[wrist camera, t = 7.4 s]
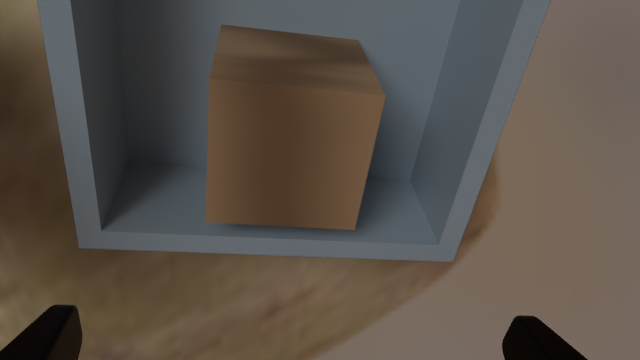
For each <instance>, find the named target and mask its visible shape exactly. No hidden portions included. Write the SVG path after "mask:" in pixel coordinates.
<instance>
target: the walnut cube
mask: <svg viewBox="0 0 640 360" xmlns="http://www.w3.org/2000/svg"><path fill="white" fill-rule="evenodd" d="M385 97H386V95H385V93H384V91H383V89H382V87H381V85H380V83H379V81H378V79H377V77H376V75H375V73H374V71H373V69H372V67H371V65H370V63H369V61H368V59H367V57H366V55H365V53H364V50H363V48H362V46H361V44H360V42H359V40H353V39H344V38H335V37H327V36H318V35H309V34H301V33H292V32H283V31H274V30H266V29H257V28H248V27H239V26H231V25H221V30H220V34H219V38H218V42H217V47H216V51H215V55H214V59H213V64H212V68H211V72H210V77H209V102H208V144H207V185H206V222H210V223H229V224H248V225H267V226H286V227H305V228H324V229H343V230H355V226H356V222H357V218H358V213H359V209H360V205H361V200H362V196H363V192H364V188H365V183H366V179H367V175H368V170H369V166H370V162H371V157H372V153H373V149H374V145H375V140H376V136H377V132H378V127H379V123H380V119H381V114H382V110H383V106H384V101H385Z"/></svg>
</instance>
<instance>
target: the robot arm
mask: <svg viewBox="0 0 640 360" xmlns="http://www.w3.org/2000/svg"><path fill="white" fill-rule="evenodd" d="M81 344H82V329H81V324H80V319H79V313H78V309H77V307H76V306H74V305H53V306H51V307H50V308H48V309H47V310H46V311H45V312H44V313H43V314H42V315H40V316H39V317H38V318H37V319H36V320H35V321H34V322H33V323H31V324H30V325H29V326H28V327H27V328H26V329H25V330H24V331H23V332H21V333H20V334H19V335H18V336H17V337H16V338H15V339H14V340H12V341H11V342H10V343H9V344H8V345H7V346H6V347H5V348H3V349H2V350H1V351H0V360H78V357H79V353H80V349H81ZM502 349H503V354H504V358H505V360H587V359H586V358H585V357H584V356H583V355H581V354H580V353H579V352H578V351H577V350H575V349H574V348H573V347H572V346H571V345H569V344H568V343H567V342H566V341H564V340H563V339H562V338H561V337H560V336H558V335H557V334H556V333H555V332H554V331H553V330H551V329H550V328H549V327H548V326H546V325H545V324H544V323H543V322H542V321H541V320H539V319H538V318H537V317H534V316H516V317H515V318H514V319H513V321H512V323H511V325H510V327H509V329H508V331H507V333H506V335H505V337H504V339H503V343H502Z"/></svg>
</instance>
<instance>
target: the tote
mask: <svg viewBox="0 0 640 360" xmlns="http://www.w3.org/2000/svg"><path fill="white" fill-rule="evenodd" d="M37 2H38V8H39V14H40V20H41V26H42V31H43V37H44V43H45V49H46V55H47V61H48V67H49V73H50V79H51V85H52V91H53V97H54V103H55V108H56V114H57V120H58V126H59V132H60V138H61V144H62V150H63V156H64V162H65V168H66V174H67V180H68V186H69V191H70V197H71V203H72V209H73V215H74V221H75V227H76V233H77V239H78V245H79V248H85V249H112V250H140V251H167V252H195V253H222V254H249V255H277V256H304V257H332V258H359V259H386V260H414V261H441V262H453V260H454V258H455V255H456V252H457V250H458V247H459V244H460V242H461V239H462V236H463V234H464V231H465V228H466V226H467V223H468V220H469V218H470V215H471V212H472V210H473V207H474V204H475V202H476V199H477V196H478V194H479V191H480V188H481V186H482V183H483V180H484V178H485V175H486V172H487V170H488V167H489V164H490V162H491V159H492V156H493V154H494V151H495V148H496V146H497V143H498V140H499V138H500V135H501V132H502V130H503V127H504V124H505V122H506V119H507V116H508V114H509V111H510V108H511V106H512V103H513V100H514V98H515V95H516V92H517V90H518V87H519V84H520V82H521V79H522V76H523V74H524V71H525V68H526V66H527V63H528V60H529V58H530V55H531V52H532V50H533V47H534V44H535V42H536V39H537V37H538V34H539V31H540V28H541V26H542V23H543V21H544V18H545V15H546V12H547V10H548V7H549V5H550V2H551V0H37ZM221 25H231V26H239V27H248V28H257V29H266V30H274V31H283V32H292V33H301V34H309V35H318V36H327V37H335V38H344V39H353V40H359V42H360V44H361V46H362V48H363V50H364V53H365V55H366V57H367V59H368V61H369V63H370V65H371V67H372V69H373V71H374V73H375V75H376V77H377V79H378V81H379V83H380V85H381V87H382V89H383V91H384V93H385V95H386V97H385V101H384V106H383V110H382V114H381V119H380V123H379V127H378V132H377V136H376V140H375V145H374V149H373V153H372V157H371V162H370V166H369V170H368V175H367V179H366V183H365V188H364V192H363V196H362V200H361V205H360V209H359V213H358V218H357V222H356V226H355V230H343V229H324V228H305V227H286V226H267V225H248V224H229V223H210V222H206V185H207V144H208V102H209V77H210V72H211V68H212V64H213V59H214V55H215V51H216V47H217V42H218V38H219V34H220V30H221Z"/></svg>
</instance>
